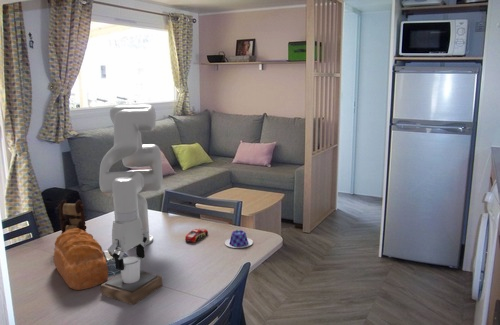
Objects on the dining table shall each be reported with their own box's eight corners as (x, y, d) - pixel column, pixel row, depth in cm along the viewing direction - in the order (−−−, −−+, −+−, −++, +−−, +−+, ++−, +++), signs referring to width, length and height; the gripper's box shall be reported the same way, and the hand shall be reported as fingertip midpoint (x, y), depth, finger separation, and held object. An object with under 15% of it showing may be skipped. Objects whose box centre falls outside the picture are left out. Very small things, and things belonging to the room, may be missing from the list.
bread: (89, 256, 171) (86, 220, 168) (112, 282, 151) (108, 240, 147) (52, 266, 163) (48, 228, 160) (70, 294, 142) (66, 251, 139)
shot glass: (135, 285, 140) (134, 265, 138) (116, 283, 141) (114, 263, 140) (145, 275, 146) (143, 256, 145) (126, 273, 148) (125, 254, 146)
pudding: (250, 250, 176) (250, 238, 175) (222, 248, 178) (221, 236, 177) (254, 239, 187) (254, 227, 186) (228, 237, 189) (227, 226, 188)
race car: (200, 232, 196) (199, 224, 196) (210, 234, 194) (209, 225, 193) (183, 242, 185) (182, 233, 184) (193, 244, 183) (193, 235, 182)
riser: (101, 294, 142) (100, 283, 141) (131, 276, 154) (131, 266, 153) (133, 304, 135) (132, 293, 134) (162, 285, 147) (161, 274, 146)
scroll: (99, 238, 190) (95, 195, 186) (83, 252, 176) (78, 205, 171) (67, 237, 191) (62, 194, 187) (49, 251, 177) (43, 205, 173)
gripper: (136, 205, 148) (140, 251, 152) (97, 221, 133) (102, 271, 137) (153, 208, 145) (156, 255, 149) (115, 225, 130) (119, 277, 134)
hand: (130, 263), depth 143 cm, fingers open, 9 cm apart
